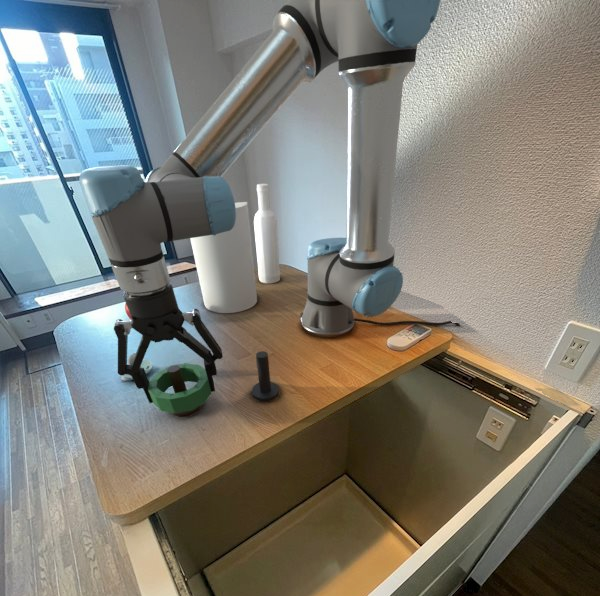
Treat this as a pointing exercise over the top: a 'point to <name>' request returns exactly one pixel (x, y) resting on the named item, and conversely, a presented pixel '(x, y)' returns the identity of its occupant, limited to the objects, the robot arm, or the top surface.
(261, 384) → the charcoal peg
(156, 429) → the top surface
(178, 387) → the walnut peg
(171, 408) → the ring
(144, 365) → the pacifier
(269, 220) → the bottle
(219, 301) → the cylinder
